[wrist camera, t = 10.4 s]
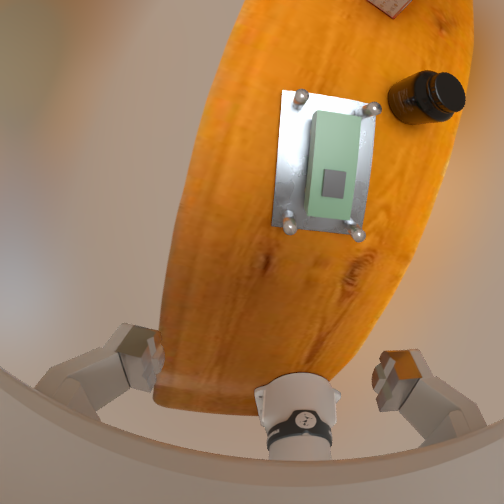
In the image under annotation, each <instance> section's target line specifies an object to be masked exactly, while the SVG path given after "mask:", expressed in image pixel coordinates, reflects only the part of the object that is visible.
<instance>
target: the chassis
mask: <svg viewBox="0 0 504 504" xmlns="http://www.w3.org/2000/svg"><path fill="white" fill-rule="evenodd" d="M316 110H324V111H330V112H336V113H342V114H348V115H353V116H358V117H361V131H360V143H359V153H358V163H357V172H356V180H355V188H354V195H353V202H352V208H351V215H350V221H348V220H340V219H331V218H322V217H313V216H307V214H306V212H305V209H304V201H305V191H306V182H307V172H308V161H309V150H310V138H311V125H312V114H313V113H314V112H315V111H316ZM381 111H382V108H381V106H380V104H379V103H377V102H372V103H369V104H368V103H363V102H359V101H354V100H349V99H343V98H338V97H332V96H325V95H319V94H311V93H308V92H307V91H306V90H305V89H299V90H297V91H296V92H294V91H284V90H282V103H281V117H280V131H279V144H278V157H277V170H276V182H275V193H274V205H273V216H272V226H275V227H283V229H284V232H285V233H286V234H288V235H293V234H295V233H296V231H297V229H305V230H314V231H324V232H333V233H341V234H350V235H351V236H352V237H353V239H354V240H355V241H356V242H362V241H363V240H364V239H365V237H366V234H365V232H364V231H363V230H362V224H363V219H364V213H365V207H366V200H367V194H368V187H369V180H370V172H371V163H372V154H373V144H374V133H375V119H376V115H378V114H380V113H381Z"/></svg>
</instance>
